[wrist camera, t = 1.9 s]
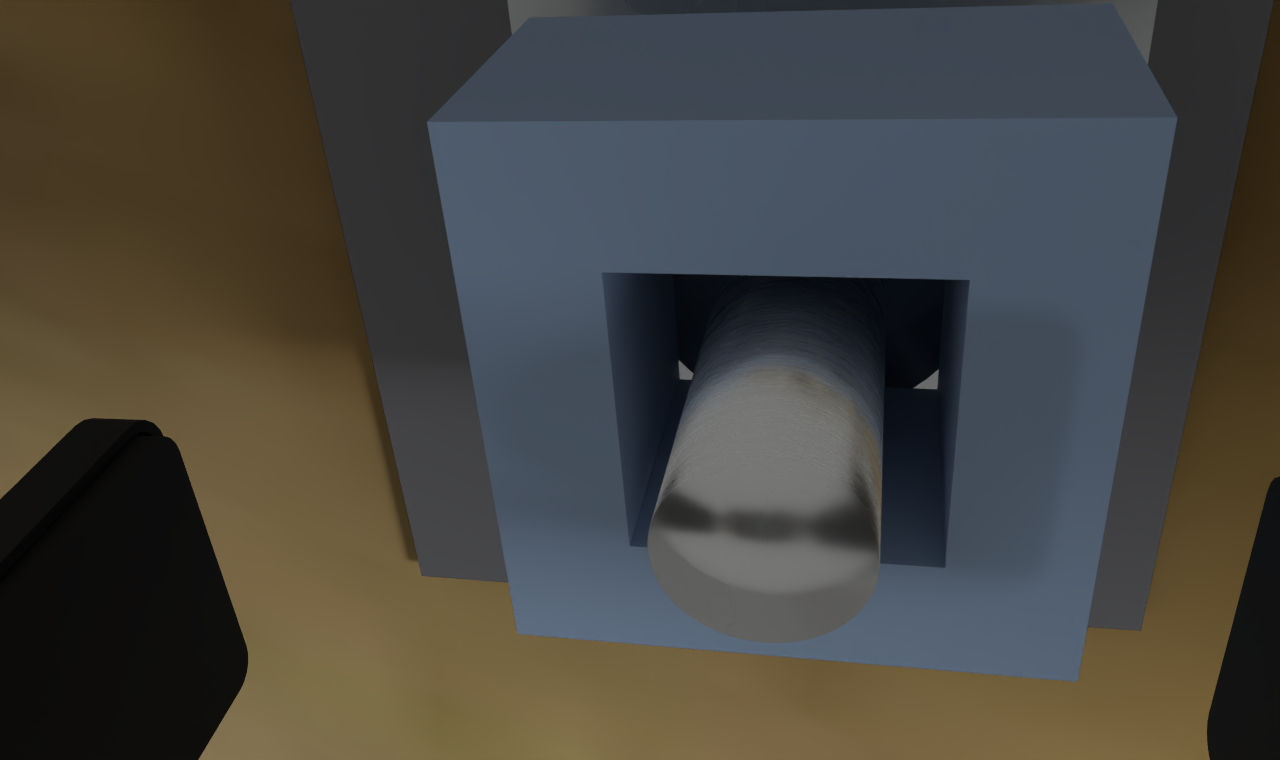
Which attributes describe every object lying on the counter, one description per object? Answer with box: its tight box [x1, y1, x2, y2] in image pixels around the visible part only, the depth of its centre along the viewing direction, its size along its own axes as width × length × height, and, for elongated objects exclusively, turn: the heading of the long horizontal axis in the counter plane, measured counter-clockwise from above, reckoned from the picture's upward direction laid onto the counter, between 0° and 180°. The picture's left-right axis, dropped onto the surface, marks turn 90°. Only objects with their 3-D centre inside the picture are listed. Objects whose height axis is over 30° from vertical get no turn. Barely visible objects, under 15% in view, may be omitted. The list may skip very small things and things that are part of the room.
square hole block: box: [427, 3, 1177, 682], centre depth 13 cm, size 6×6×4 cm
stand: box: [507, 0, 1158, 643], centre depth 13 cm, size 8×8×8 cm
